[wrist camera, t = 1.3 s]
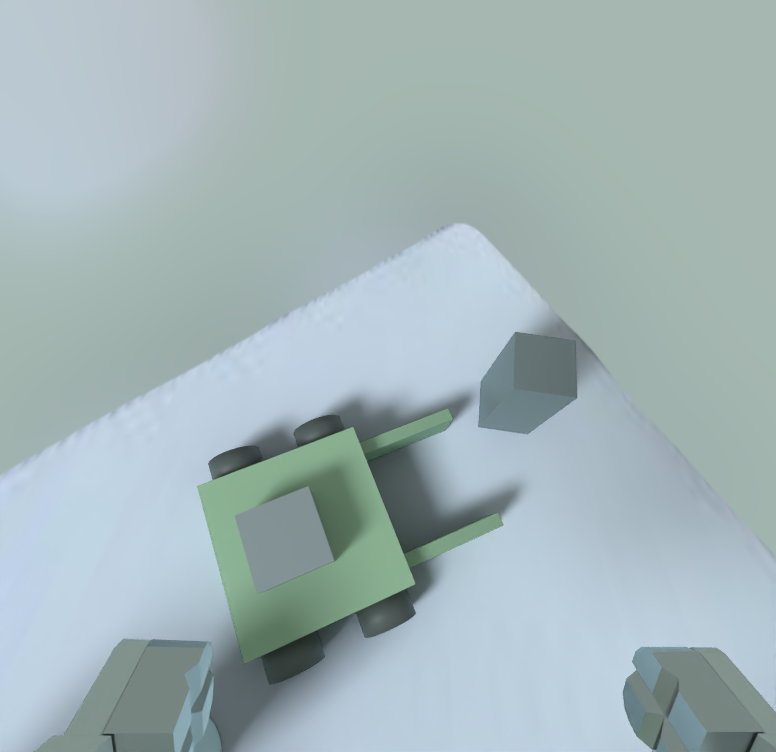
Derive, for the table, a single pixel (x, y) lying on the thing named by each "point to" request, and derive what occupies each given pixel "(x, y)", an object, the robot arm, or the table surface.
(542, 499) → the table surface
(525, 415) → the tall gray column
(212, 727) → the beer glass
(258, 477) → the green toy forklift
